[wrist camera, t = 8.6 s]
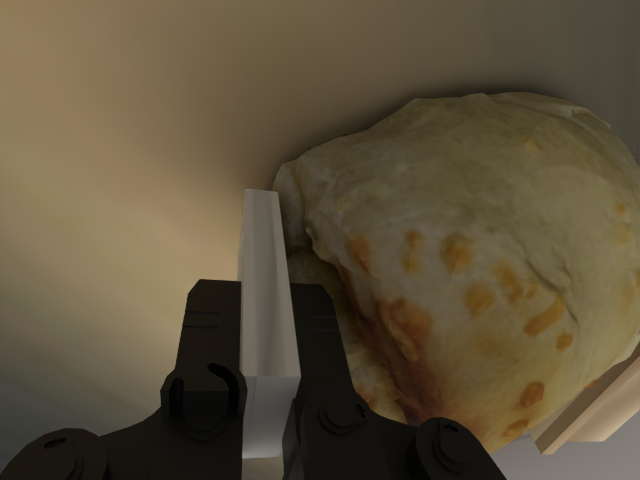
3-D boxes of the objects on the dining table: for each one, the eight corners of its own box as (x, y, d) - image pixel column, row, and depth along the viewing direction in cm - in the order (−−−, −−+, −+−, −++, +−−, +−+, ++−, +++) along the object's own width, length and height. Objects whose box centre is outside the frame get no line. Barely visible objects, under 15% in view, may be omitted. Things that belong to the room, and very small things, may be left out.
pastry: (195, 258, 15) (143, 486, 9) (449, -49, 10) (746, -37, 4) (429, 377, 22) (498, 560, 15) (656, 222, 17) (899, 395, 10)
